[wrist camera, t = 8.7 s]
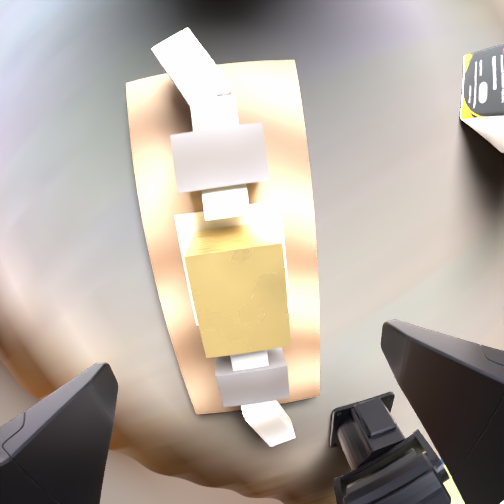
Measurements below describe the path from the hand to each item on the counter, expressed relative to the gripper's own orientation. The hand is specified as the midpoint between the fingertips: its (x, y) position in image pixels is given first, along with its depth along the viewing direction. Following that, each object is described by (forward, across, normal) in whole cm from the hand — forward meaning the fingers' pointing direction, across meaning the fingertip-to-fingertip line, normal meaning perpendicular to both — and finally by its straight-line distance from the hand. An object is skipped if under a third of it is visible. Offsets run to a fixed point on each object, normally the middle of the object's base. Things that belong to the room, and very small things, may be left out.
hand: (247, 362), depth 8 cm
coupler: (+9, 0, 0) cm, 9 cm away
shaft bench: (+11, 0, 0) cm, 11 cm away
